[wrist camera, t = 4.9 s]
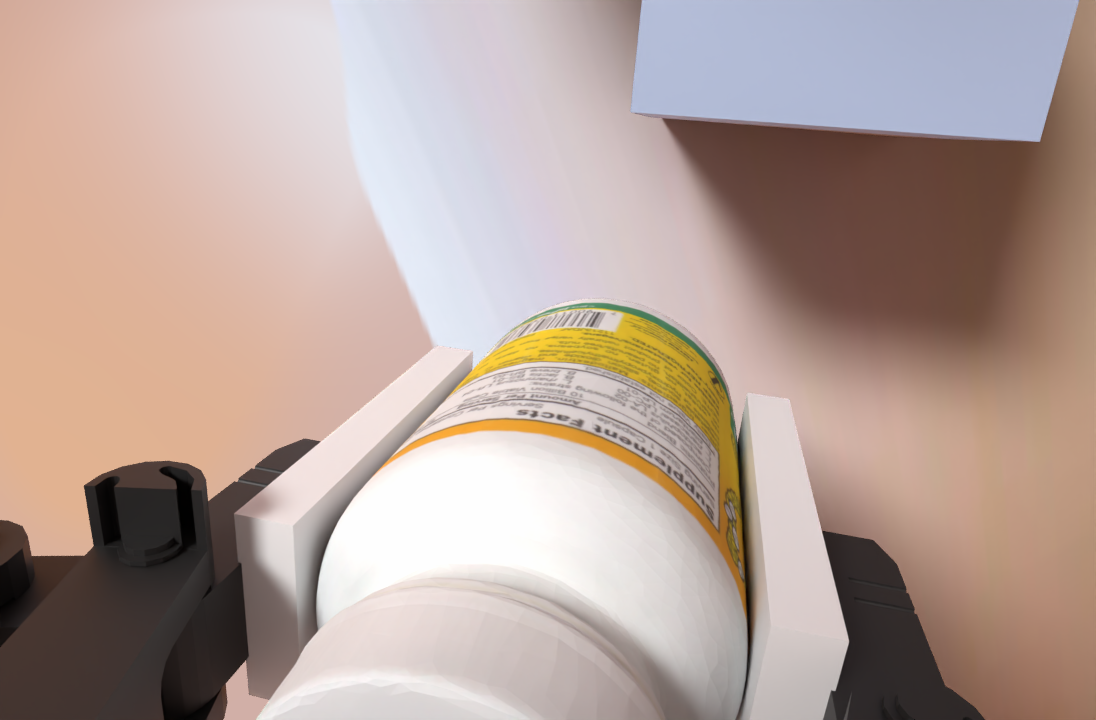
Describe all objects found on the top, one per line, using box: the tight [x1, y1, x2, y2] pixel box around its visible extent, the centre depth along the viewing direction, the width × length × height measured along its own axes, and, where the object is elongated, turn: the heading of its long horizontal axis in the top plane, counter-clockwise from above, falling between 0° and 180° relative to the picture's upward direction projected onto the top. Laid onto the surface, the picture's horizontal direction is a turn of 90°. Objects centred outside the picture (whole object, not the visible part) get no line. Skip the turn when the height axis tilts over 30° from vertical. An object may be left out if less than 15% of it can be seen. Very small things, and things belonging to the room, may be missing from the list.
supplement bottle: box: [256, 298, 748, 720], centre depth 10 cm, size 5×5×10 cm
